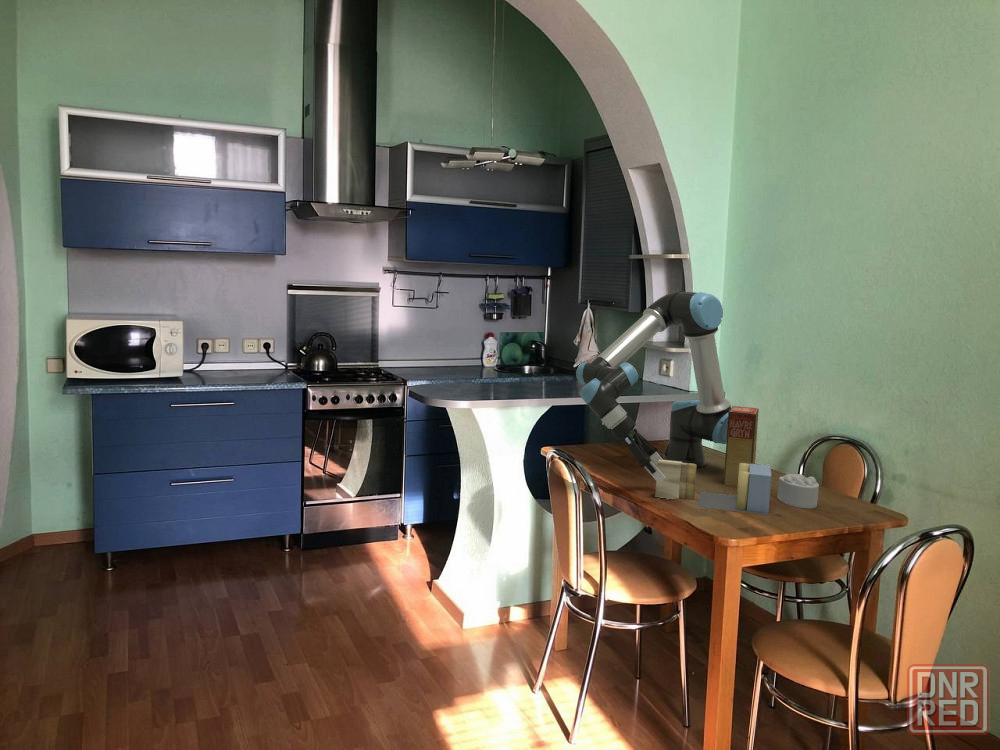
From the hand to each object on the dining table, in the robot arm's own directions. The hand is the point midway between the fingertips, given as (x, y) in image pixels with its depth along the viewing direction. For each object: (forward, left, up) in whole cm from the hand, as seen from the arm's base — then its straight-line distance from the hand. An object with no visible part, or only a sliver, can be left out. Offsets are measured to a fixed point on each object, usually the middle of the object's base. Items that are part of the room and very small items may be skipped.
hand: (664, 475), depth 256 cm
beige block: (-2, +3, -7) cm, 8 cm away
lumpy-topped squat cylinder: (-26, +32, -7) cm, 42 cm away
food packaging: (-35, +8, -7) cm, 37 cm away
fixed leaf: (-12, +24, -6) cm, 27 cm away
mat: (-9, +19, -7) cm, 22 cm away
